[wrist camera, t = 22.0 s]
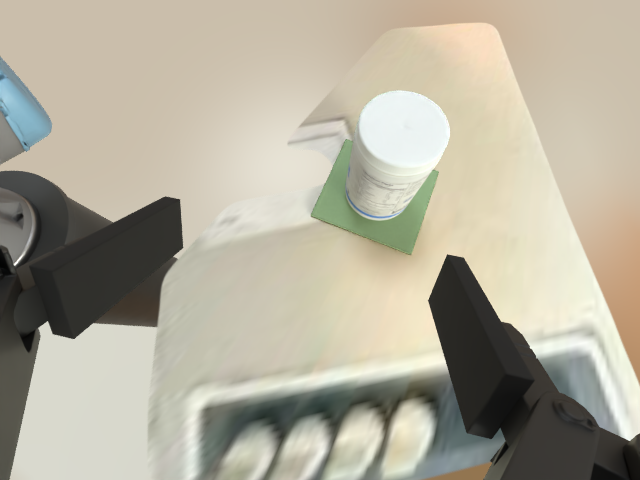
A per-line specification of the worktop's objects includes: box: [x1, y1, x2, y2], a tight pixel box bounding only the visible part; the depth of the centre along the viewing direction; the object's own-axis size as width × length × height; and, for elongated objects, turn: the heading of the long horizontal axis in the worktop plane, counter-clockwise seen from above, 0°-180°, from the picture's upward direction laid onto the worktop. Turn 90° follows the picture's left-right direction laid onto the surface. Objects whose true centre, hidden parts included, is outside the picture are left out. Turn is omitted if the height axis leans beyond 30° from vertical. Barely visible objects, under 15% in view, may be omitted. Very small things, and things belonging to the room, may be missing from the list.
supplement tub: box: [345, 91, 450, 221], centre depth 37 cm, size 10×10×15 cm
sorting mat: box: [311, 139, 439, 255], centre depth 44 cm, size 15×14×1 cm
